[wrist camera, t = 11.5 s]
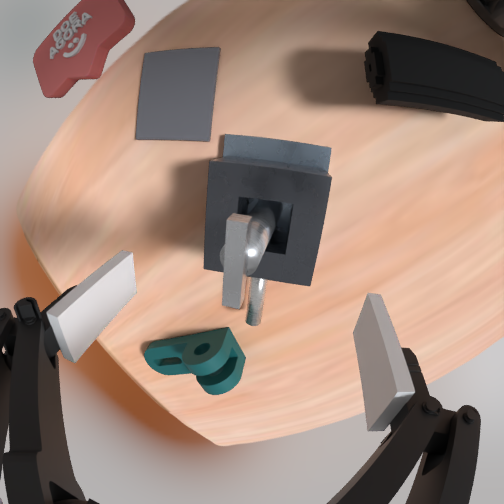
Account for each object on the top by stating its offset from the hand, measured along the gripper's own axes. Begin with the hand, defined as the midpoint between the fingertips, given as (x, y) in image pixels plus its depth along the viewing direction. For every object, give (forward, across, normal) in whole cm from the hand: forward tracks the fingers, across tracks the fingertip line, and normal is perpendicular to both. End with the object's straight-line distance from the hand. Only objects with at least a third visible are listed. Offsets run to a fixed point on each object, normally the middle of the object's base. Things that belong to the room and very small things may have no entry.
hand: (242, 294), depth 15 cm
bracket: (+20, -11, -27) cm, 35 cm away
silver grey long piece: (+19, 0, 0) cm, 19 cm away
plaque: (+21, -31, +22) cm, 43 cm away
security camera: (+21, +17, +18) cm, 32 cm away
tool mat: (+20, -14, +13) cm, 27 cm away
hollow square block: (+20, -1, -4) cm, 21 cm away
